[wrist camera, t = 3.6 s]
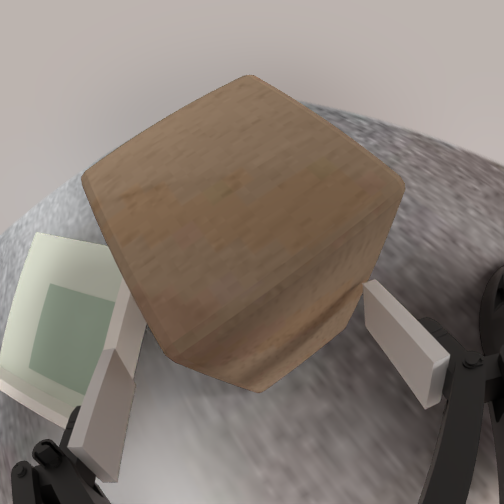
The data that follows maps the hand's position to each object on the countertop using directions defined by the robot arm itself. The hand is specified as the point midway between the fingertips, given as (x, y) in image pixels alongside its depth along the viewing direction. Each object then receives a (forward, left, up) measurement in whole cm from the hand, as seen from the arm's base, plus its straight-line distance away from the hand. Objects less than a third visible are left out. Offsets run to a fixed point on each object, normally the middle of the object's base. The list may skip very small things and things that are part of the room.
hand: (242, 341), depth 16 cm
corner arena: (+20, -8, -14) cm, 26 cm away
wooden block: (-2, -3, -13) cm, 14 cm away
